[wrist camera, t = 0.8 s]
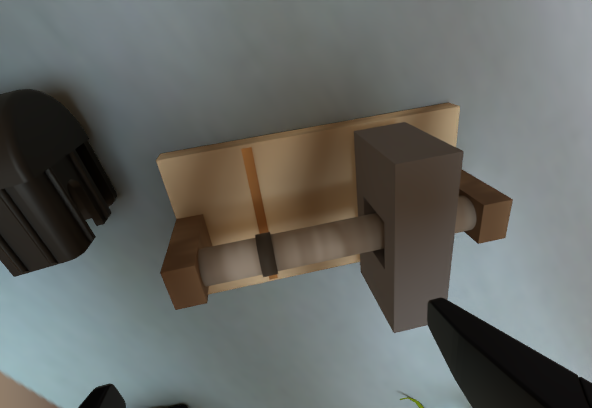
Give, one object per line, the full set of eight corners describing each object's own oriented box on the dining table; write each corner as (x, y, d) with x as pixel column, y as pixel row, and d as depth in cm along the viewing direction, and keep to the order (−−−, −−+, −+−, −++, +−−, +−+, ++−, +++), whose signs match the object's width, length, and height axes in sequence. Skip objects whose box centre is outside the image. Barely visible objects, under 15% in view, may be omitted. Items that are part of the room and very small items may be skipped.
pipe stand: (448, 102, 21) (526, 127, 16) (438, 234, 26) (495, 289, 20) (160, 153, 20) (131, 201, 14) (204, 284, 24) (196, 359, 19)
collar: (405, 121, 19) (463, 151, 14) (401, 262, 23) (444, 320, 19) (353, 131, 19) (395, 164, 14) (360, 271, 23) (393, 333, 18)
